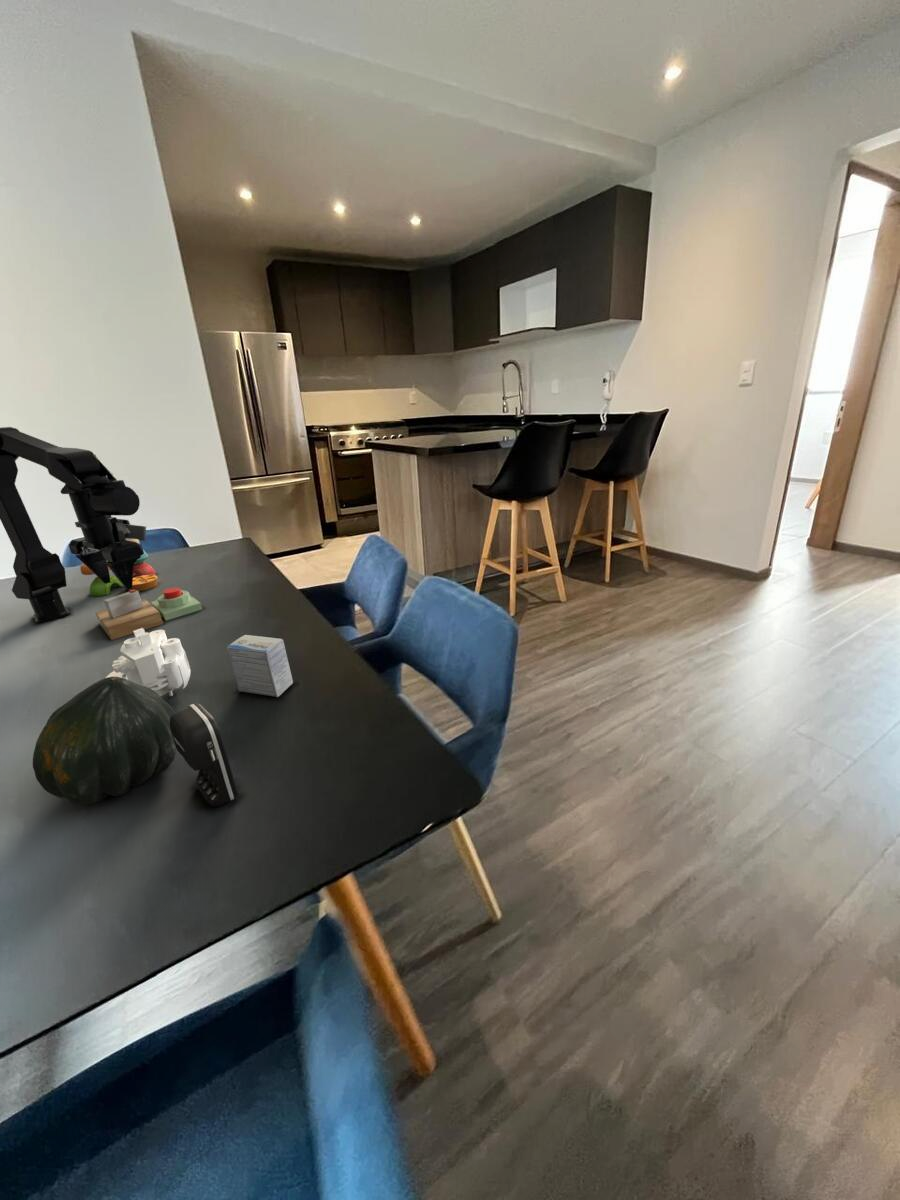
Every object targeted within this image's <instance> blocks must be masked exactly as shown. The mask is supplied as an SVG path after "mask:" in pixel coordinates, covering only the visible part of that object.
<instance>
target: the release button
mask: <svg viewBox="0 0 900 1200" xmlns="http://www.w3.org/2000/svg"><path fill="white" fill-rule="evenodd" d="M181 590H182V589H181V588H180V587H170V588H166V589H164V590H163V591H162V593H163V594H164V597H165V599H172V598H176V597H179V596H181V595H182V593H181ZM163 594H162V595H163Z"/></svg>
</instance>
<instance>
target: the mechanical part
mask: <svg viewBox="0 0 900 1200" xmlns="http://www.w3.org/2000/svg"><path fill="white" fill-rule="evenodd" d="M133 632H134V633H133V635H134V637H129V638H128V639H126V640H124V641H123V644H122V646H121V648H120V650H119V651H120V654H121V655H120V656H118V657H117V659H114V660H113V662H112V664H111V667H112V670H113V671H112V672H110V673H109V674H108V675H106V676H105V678H108V677H120V678H124V679H127V680H130V681H133V682H135V683H139V684H142V685H144V686H146V687H148V688H150V689H152V690H154V691H155V692H156V693H157V694H158V695H159V696H160V697H161V698H162V697H163V696H164V695H166V694H167V693H168V696H169V697H173V695H174V693H173V691H175V690H185V688H186V687H187V686H188V683H189V681H190V679H191V666H190V663H189V659H188V656H187V653H186V651H185V649H184V648H183V646H182V643H181V640H180V638H178V637H172V638H168V637H167V635H166V630H165V629H155V630H152V631H150V632H148V631H147V632H146V631H145V630H144V629H143V628H141V629H138V630H135V631H133Z"/></svg>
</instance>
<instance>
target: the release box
mask: <svg viewBox="0 0 900 1200" xmlns="http://www.w3.org/2000/svg"><path fill="white" fill-rule="evenodd" d="M180 590H181V593H182V595H181V596H179V597H176V598H172V599H165V597H164V594H160V595H159V596H158V597H157V598H156V599H155V600H154V601H153V600H152V601H150V604H154V605H152V606H153V607H154V608H155V609H156V610H157V611H159V613H160V616H161V618H162V619H163V620H164V621H169V620H173V619H176V618H179V617H183V616H186V615H189V614H193V613H195V612H198V611H202V610H203V607H202V603H201V602H200V601H199V600H197V599H196V598H194V597H193V596H192V595H190V591H188V590H185V589H184V590H183V589H180Z"/></svg>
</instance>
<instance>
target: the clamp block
mask: <svg viewBox="0 0 900 1200" xmlns="http://www.w3.org/2000/svg"><path fill="white" fill-rule="evenodd" d="M141 601H142V604H143V607H142V608H140V609H137V610H134V611H132V612H129V613H126V614H123V615H121V616H118V617H115V618H112V617H110V616H109V613H108V610H107V609H103V610H99V611H97V612H95V615H96V619H97V620H98V623H99V625H100V627H101V628H102V630H103V631H104V632H105V634H106V635H107V636H108V637H109V639H110V640H111V641H113V640H116V639H121V638H123V637H127V636H130V635H132V634H133V635H134V632H133V631H135V630H138V629H141V628H143V629H144V631H145V630H148V629H151V628H156V627H157V626H158V627H159V626H161V625H163V624H164V622H163V618H162V617H161V616H160V613H159V611H157V610H156V609H155V608H154V607H153V606H152V605H154V604H151V602H149V601H147V600H146V599H145V598H143V599H141Z"/></svg>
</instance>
